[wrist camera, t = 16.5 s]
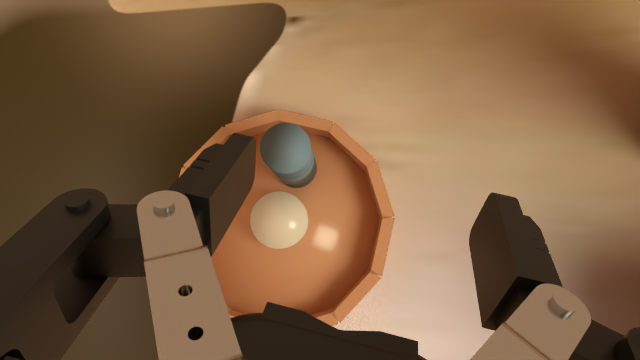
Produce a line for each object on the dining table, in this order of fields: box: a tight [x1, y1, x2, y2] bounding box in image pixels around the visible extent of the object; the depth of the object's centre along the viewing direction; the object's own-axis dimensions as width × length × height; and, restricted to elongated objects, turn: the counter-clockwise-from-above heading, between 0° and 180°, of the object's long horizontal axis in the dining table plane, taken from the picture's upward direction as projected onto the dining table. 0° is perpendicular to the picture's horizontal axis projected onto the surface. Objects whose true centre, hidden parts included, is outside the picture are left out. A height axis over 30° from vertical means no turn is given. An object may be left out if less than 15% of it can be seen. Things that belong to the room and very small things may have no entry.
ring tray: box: [179, 110, 394, 326], centre depth 42 cm, size 23×23×4 cm
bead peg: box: [260, 123, 317, 188], centre depth 39 cm, size 4×4×10 cm
